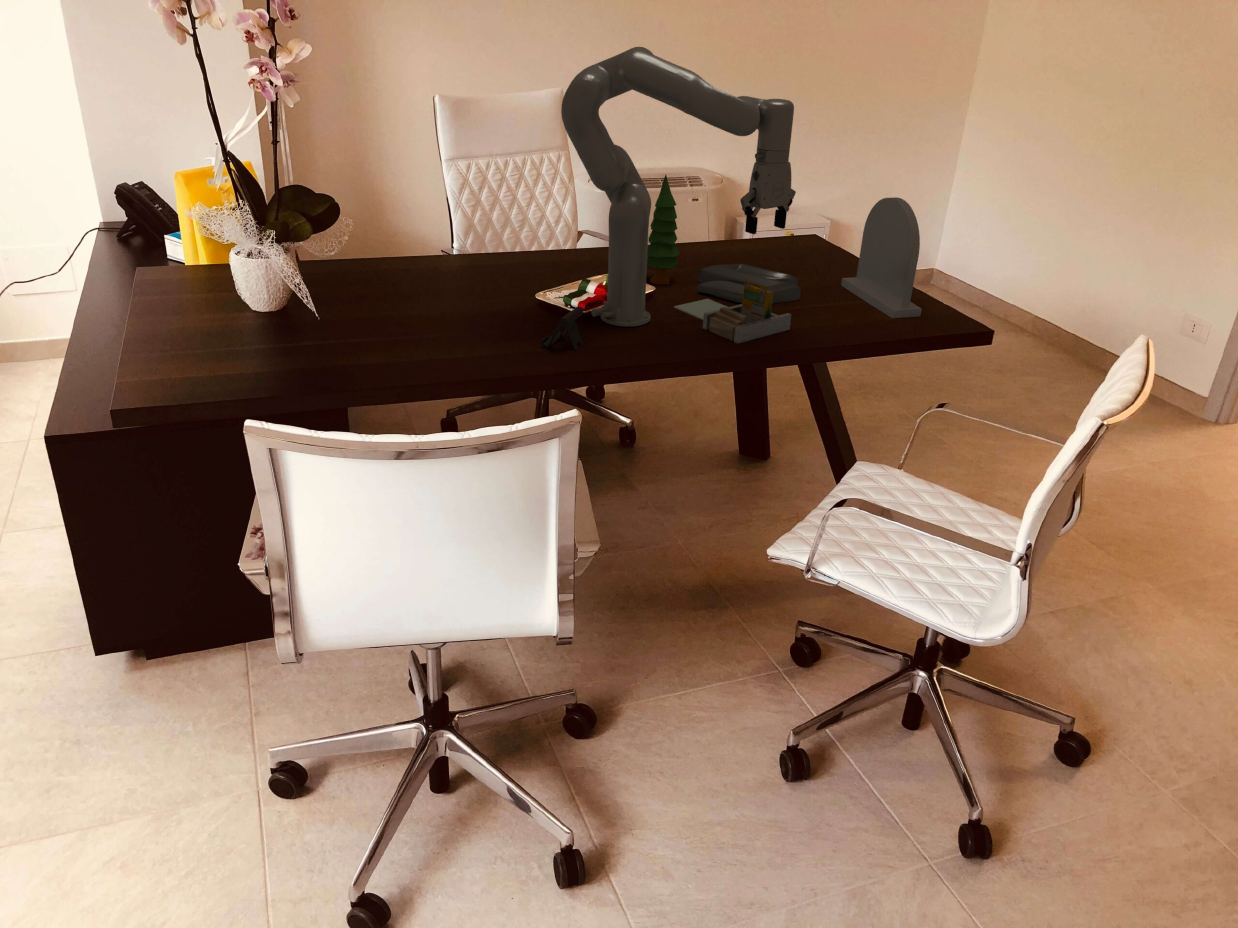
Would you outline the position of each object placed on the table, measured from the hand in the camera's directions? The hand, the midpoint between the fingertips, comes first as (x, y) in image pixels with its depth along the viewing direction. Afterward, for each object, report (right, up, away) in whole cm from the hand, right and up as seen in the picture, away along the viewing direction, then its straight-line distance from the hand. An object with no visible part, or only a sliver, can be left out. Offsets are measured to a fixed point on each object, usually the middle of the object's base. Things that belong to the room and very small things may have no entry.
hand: (765, 230), depth 231 cm
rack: (-3, -22, +10) cm, 25 cm away
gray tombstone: (+37, -11, +34) cm, 51 cm away
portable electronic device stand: (-48, -28, -4) cm, 56 cm away
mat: (-12, -16, +21) cm, 29 cm away
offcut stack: (-8, -24, +6) cm, 26 cm away
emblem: (+1, -8, +37) cm, 38 cm away
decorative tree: (-23, -4, +43) cm, 49 cm away
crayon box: (-1, -22, +12) cm, 25 cm away
